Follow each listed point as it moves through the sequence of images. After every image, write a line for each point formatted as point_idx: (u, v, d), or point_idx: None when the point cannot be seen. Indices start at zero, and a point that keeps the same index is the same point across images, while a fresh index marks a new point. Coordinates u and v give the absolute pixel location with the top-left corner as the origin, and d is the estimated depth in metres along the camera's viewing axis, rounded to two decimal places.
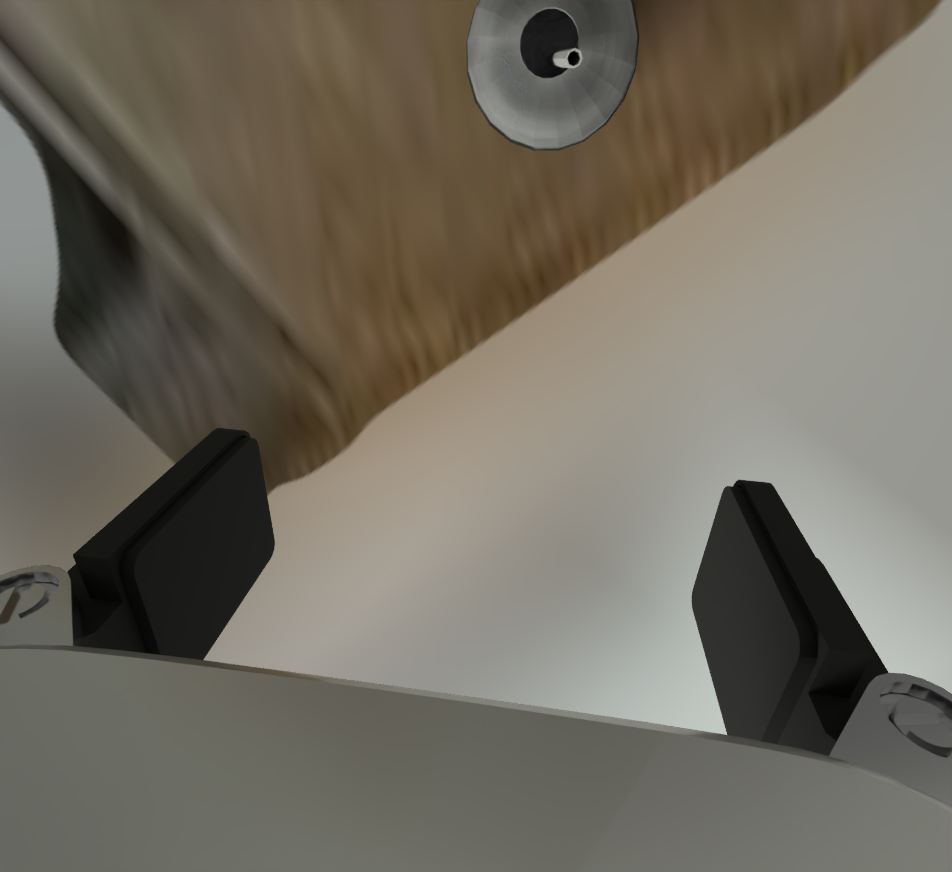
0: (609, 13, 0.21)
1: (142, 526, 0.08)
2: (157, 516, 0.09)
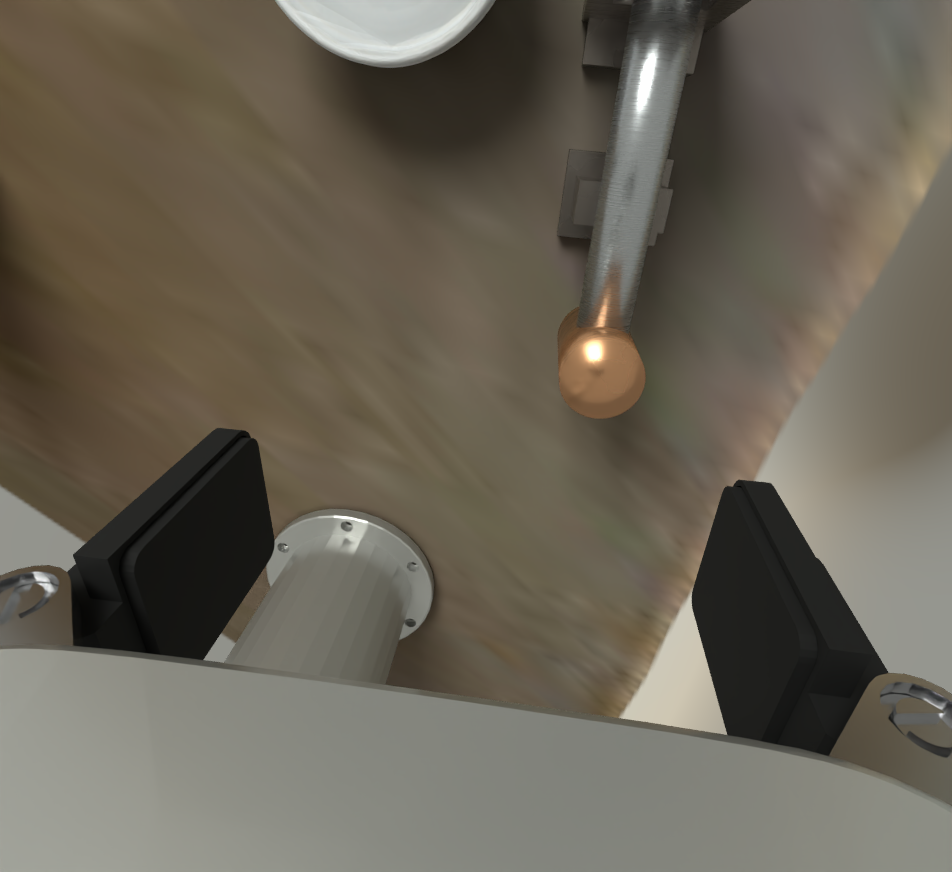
0: None
1: (141, 527, 0.08)
2: (157, 516, 0.09)
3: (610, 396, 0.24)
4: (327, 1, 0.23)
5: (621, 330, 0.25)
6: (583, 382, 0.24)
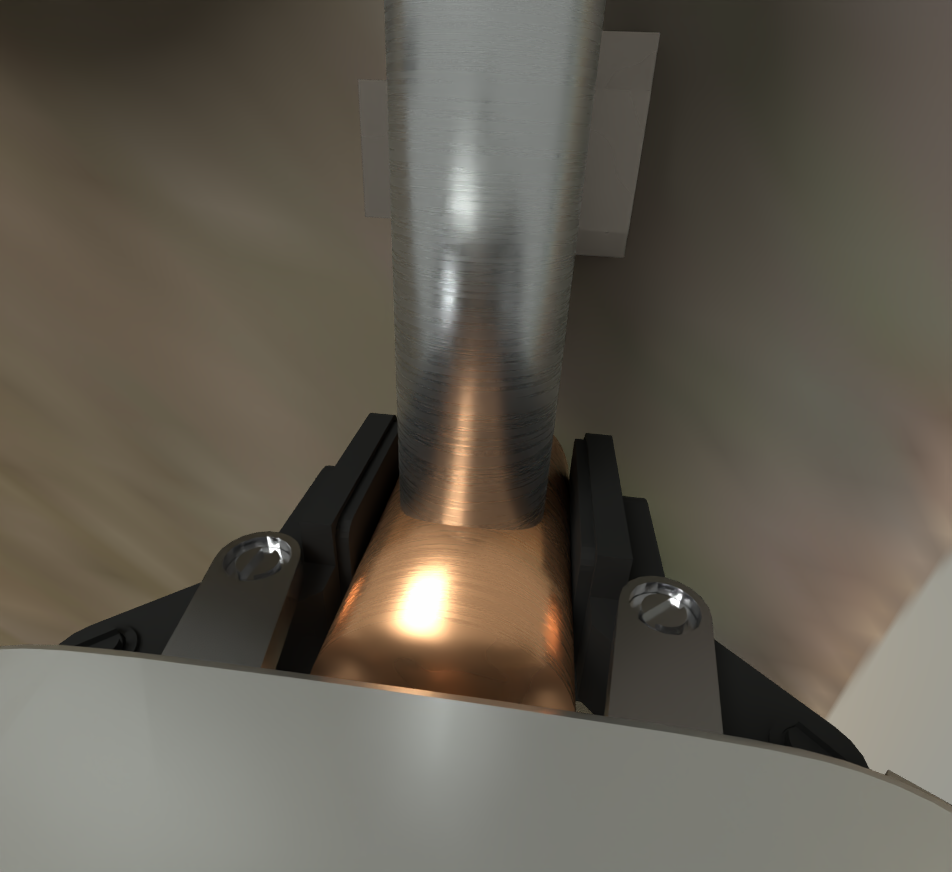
0: None
1: (347, 497, 0.09)
2: (354, 489, 0.09)
3: None
4: None
5: (511, 529, 0.08)
6: None
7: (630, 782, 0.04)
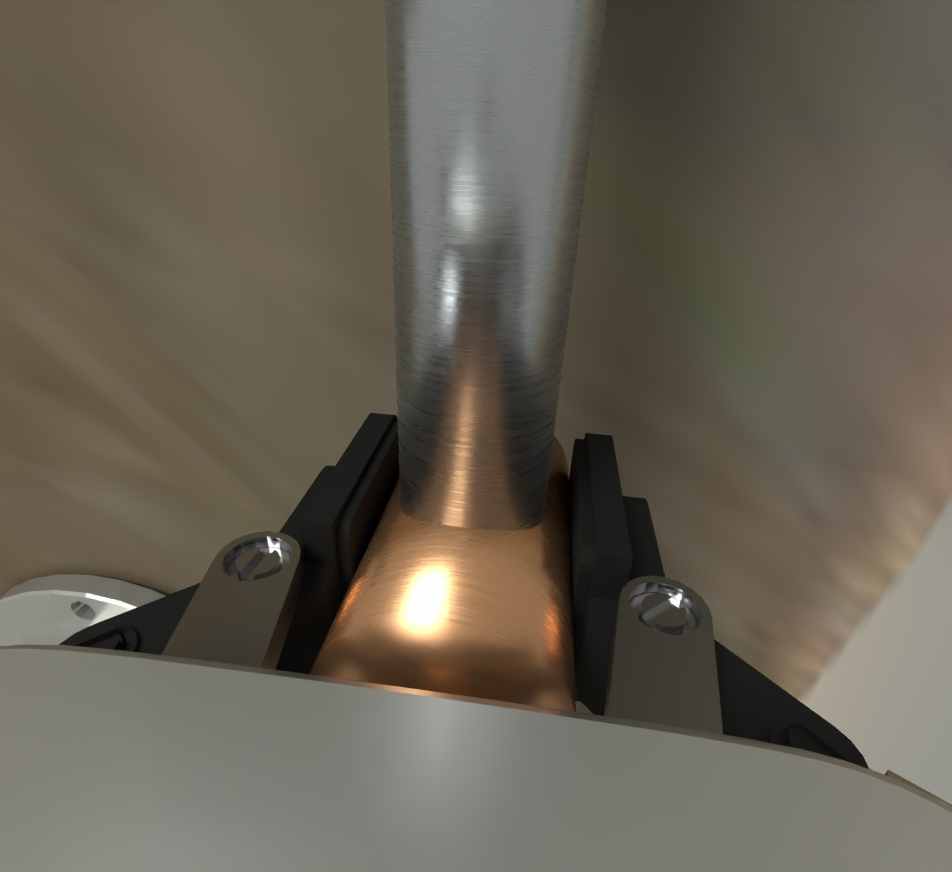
0: None
1: (347, 497, 0.09)
2: (354, 489, 0.09)
3: None
4: None
5: (511, 530, 0.08)
6: None
7: (630, 782, 0.04)
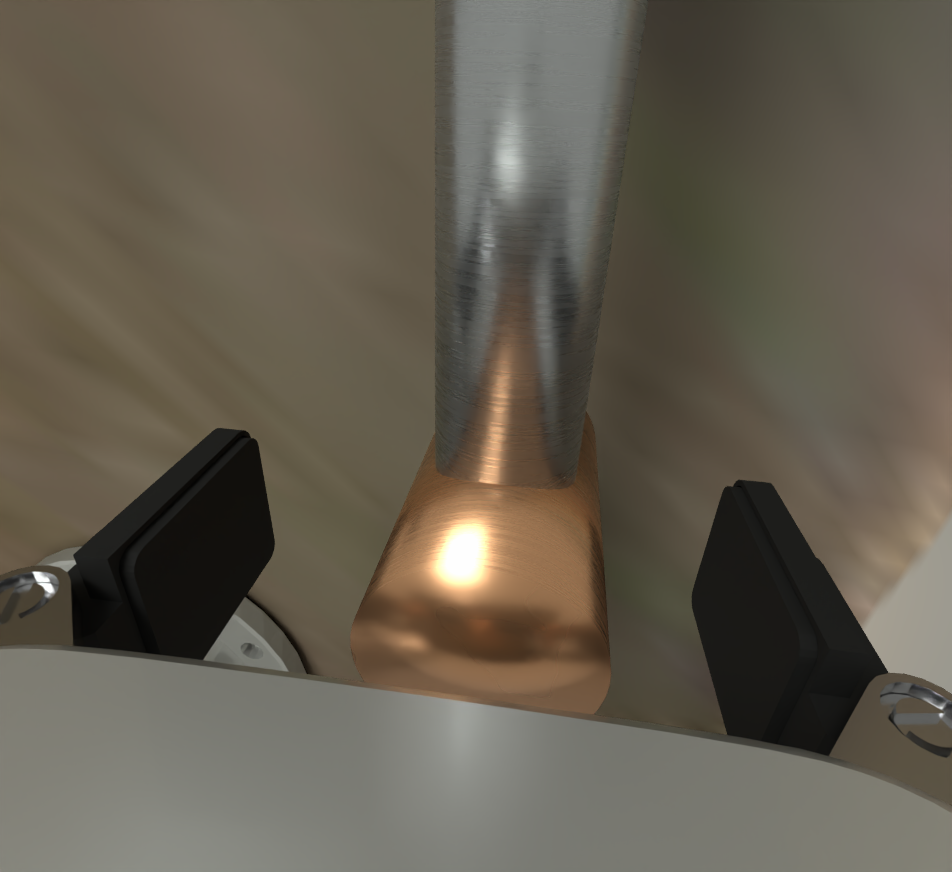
0: None
1: (141, 526, 0.08)
2: (157, 516, 0.09)
3: (509, 701, 0.08)
4: None
5: (546, 488, 0.09)
6: (424, 666, 0.08)
7: (630, 782, 0.04)
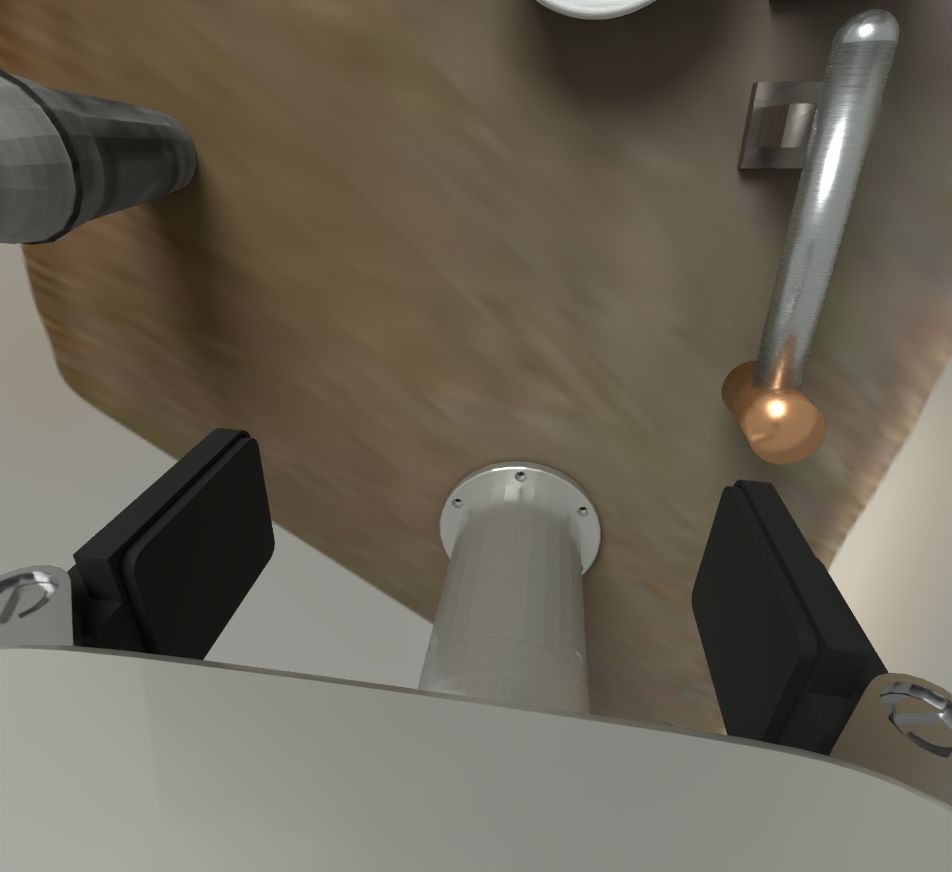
0: None
1: (141, 527, 0.08)
2: (157, 516, 0.09)
3: (794, 445, 0.29)
4: None
5: (796, 389, 0.30)
6: (771, 436, 0.29)
7: (630, 782, 0.04)
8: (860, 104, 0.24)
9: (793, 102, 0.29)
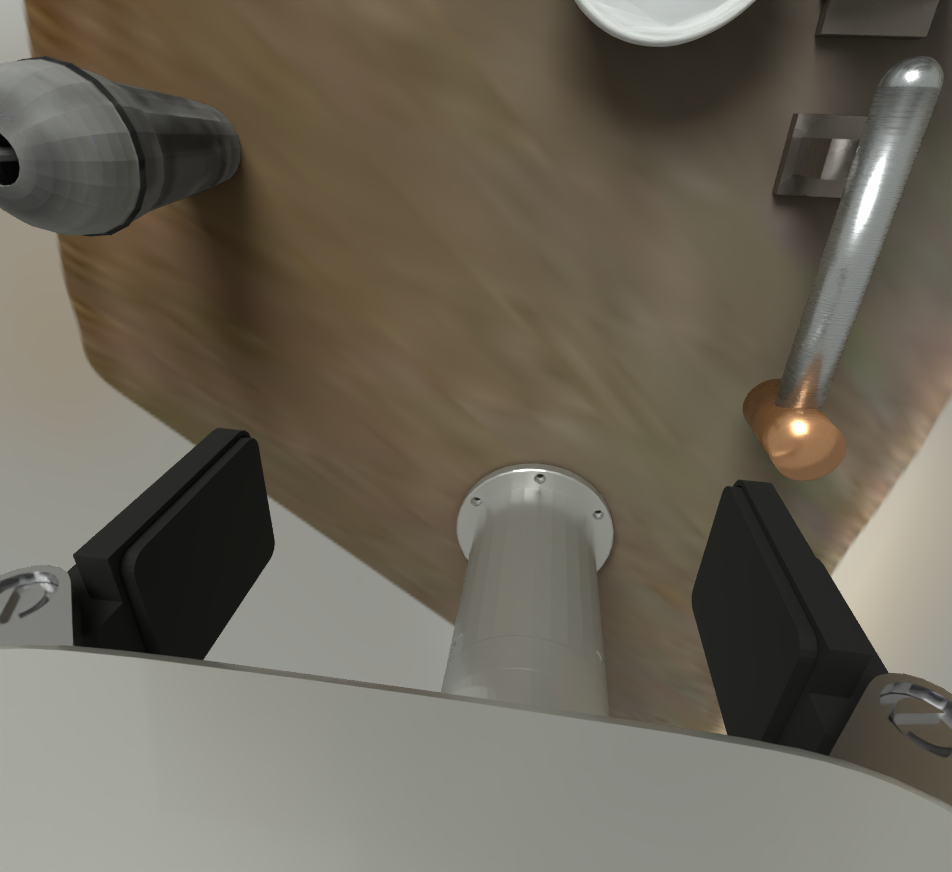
0: (12, 210, 0.24)
1: (141, 526, 0.08)
2: (157, 516, 0.09)
3: (814, 463, 0.31)
4: None
5: (818, 410, 0.32)
6: (794, 454, 0.31)
7: (630, 782, 0.04)
8: (902, 145, 0.25)
9: (831, 134, 0.30)
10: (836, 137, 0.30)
